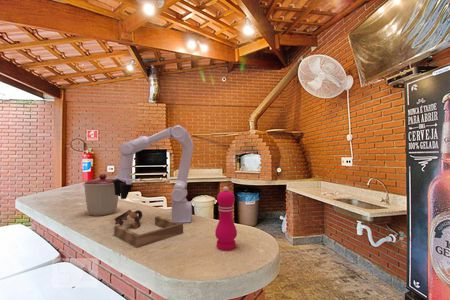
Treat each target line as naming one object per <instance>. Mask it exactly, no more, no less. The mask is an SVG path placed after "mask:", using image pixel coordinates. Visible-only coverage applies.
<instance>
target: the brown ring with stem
mask: <svg viewBox="0 0 450 300" xmlns="http://www.w3.org/2000/svg"><path fill="white" fill-rule="evenodd" d="M128 216H129V217H130V218H131V219H133V220H134V222H133V223H132V224H131V226H132V228H133V230H135V229H137V228H139V227H140V226H141V224H140V223H141V222H140V220H141V219H142V218H143V212H142V211H141V210H139V209H138V210H135V211H132V210H131V209H127V210H126V211H125V212H123V213H122V214H120V215H118V216H117V217H115V218H114V221H115V223H114V224H115V225H114V226H117V225H119V226H121V227H123V225H124V223H125V222H124V221H127V220H128Z"/></svg>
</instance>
